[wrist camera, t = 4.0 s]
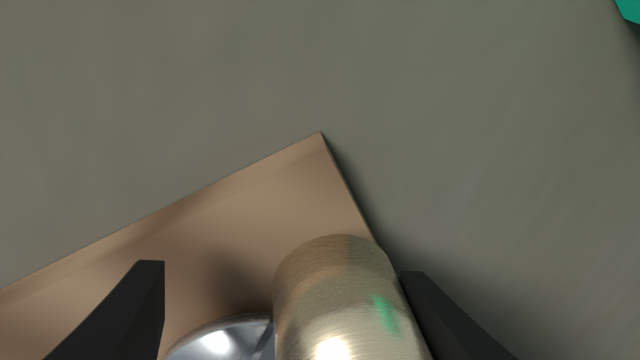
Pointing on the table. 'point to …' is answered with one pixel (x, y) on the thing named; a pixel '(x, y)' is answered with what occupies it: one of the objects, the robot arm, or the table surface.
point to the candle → (629, 9)
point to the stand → (193, 251)
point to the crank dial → (319, 312)
